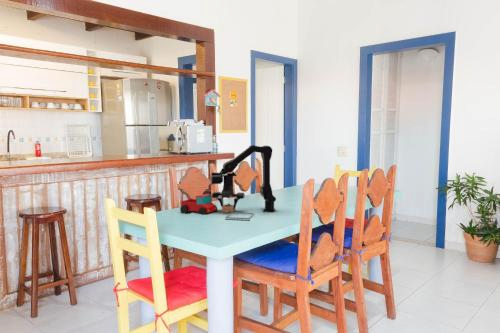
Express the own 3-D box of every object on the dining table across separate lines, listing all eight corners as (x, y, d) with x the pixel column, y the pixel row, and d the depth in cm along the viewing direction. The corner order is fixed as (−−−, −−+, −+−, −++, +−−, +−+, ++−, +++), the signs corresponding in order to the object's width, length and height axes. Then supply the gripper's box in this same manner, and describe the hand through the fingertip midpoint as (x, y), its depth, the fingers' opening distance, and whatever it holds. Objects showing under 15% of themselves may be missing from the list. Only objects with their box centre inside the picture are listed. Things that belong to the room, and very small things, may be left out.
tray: (231, 214, 227) (231, 212, 227) (254, 215, 224) (254, 213, 224) (225, 219, 214) (225, 217, 214) (249, 221, 211) (249, 218, 211)
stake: (222, 210, 239) (222, 202, 238) (238, 211, 236) (238, 202, 236) (218, 214, 229) (218, 205, 228) (234, 214, 227) (234, 206, 226)
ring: (224, 209, 236) (224, 204, 236) (235, 209, 235) (235, 204, 235) (221, 212, 228) (220, 207, 228) (232, 212, 227) (232, 207, 227)
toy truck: (205, 217, 222) (205, 197, 221) (179, 213, 232) (179, 194, 231) (218, 213, 232) (218, 194, 231) (192, 209, 242) (192, 191, 241)
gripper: (209, 185, 225) (209, 211, 226) (241, 185, 221) (241, 212, 223) (214, 182, 236) (214, 208, 237) (244, 183, 232) (244, 209, 234)
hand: (228, 209), depth 232 cm, fingers closed on ring, 7 cm apart
